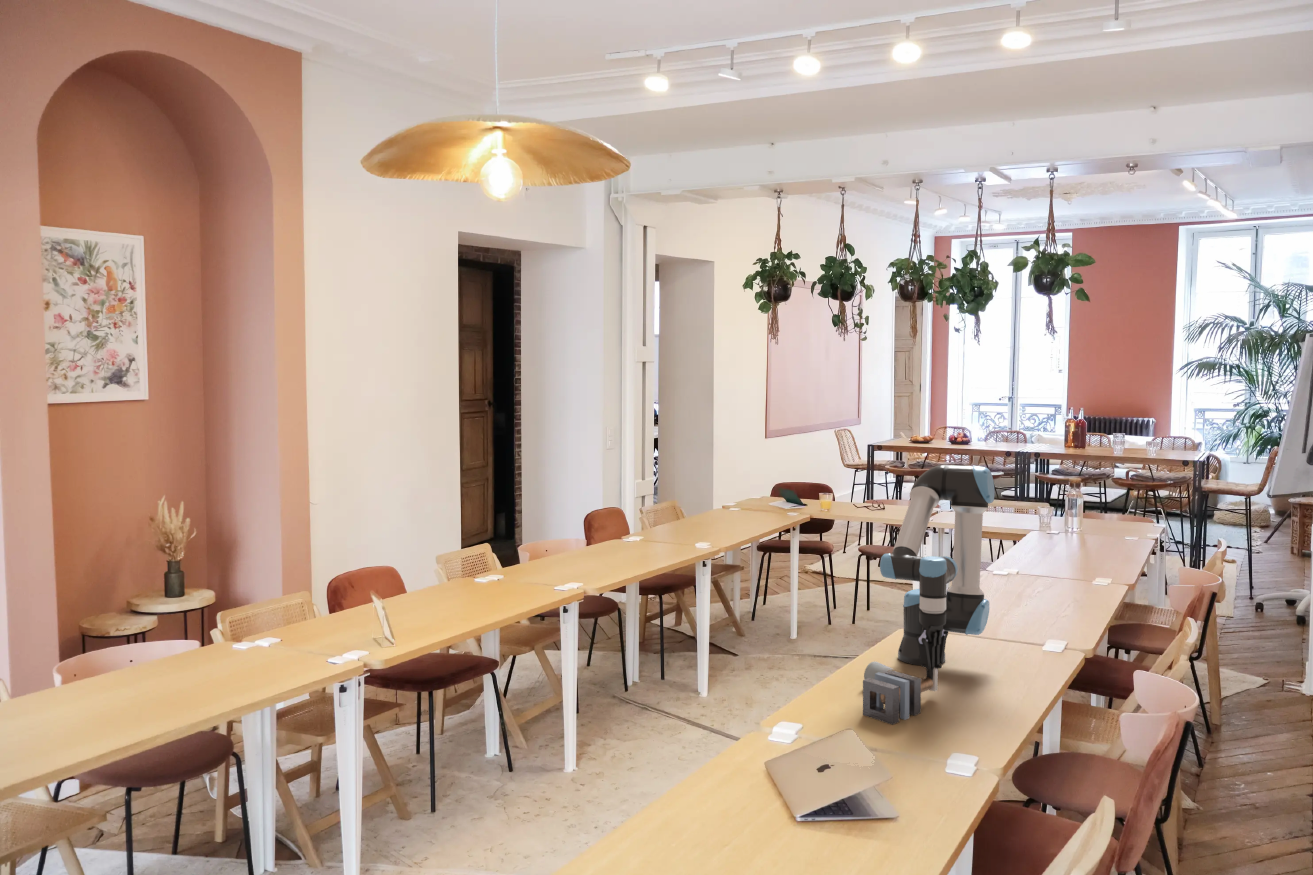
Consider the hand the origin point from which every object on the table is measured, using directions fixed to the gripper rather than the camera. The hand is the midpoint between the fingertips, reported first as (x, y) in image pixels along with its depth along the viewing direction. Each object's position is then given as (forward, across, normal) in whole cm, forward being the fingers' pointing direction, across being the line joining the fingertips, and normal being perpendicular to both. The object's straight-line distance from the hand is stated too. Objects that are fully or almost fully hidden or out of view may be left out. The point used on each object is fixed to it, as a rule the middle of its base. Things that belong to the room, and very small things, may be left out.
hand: (932, 689), depth 286 cm
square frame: (+3, +14, 0) cm, 15 cm away
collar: (+3, +24, 0) cm, 24 cm away
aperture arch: (+3, +19, 0) cm, 19 cm away
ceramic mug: (+3, +3, -15) cm, 16 cm away
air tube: (0, +12, 0) cm, 12 cm away
